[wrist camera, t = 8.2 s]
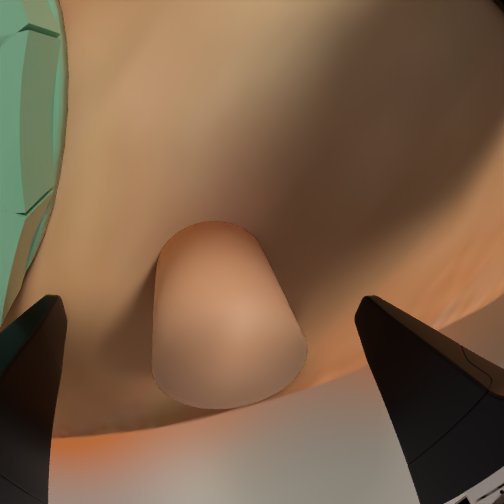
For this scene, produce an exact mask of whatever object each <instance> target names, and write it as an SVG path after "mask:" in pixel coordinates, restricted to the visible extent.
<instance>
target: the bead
mask: <svg viewBox="0 0 504 504" xmlns="http://www.w3.org/2000/svg"><path fill="white" fill-rule="evenodd" d="M307 353H308V349H307V343H306V339H305V337H304V335H303V333H302V331H301V329H300V327H299V325H298V322H297V320H296V318H295V316H294V314H293V312H292V310H291V308H290V306H289V304H288V301H287V299H286V297H285V295H284V293H283V291H282V289H281V287H280V285H279V283H278V281H277V279H276V277H275V274H274V272H273V270H272V268H271V266H270V264H269V262H268V260H267V258H266V256H265V254H264V252H263V250H262V248H261V246H260V244H259V243H258V241H257V240H256V239H255V238H254V237H253V236H252V235H251V234H250V233H249V232H247V231H246V230H244V229H242V228H241V227H239V226H236V225H233V224H230V223H225V222H203V223H199V224H195V225H192V226H189V227H187V228H185V229H183V230H181V231H180V232H178V233H177V234H175V235H174V236H173V237H172V238H171V239H170V240H169V241H168V242H167V243H166V244H165V246H164V247H163V249H162V251H161V252H160V255H159V257H158V261H157V267H156V279H155V293H154V309H153V330H152V375H153V378H154V380H155V383H156V384H157V386H158V387H159V388H160V389H161V390H162V391H163V392H164V393H165V394H166V395H167V396H169V397H170V398H172V399H174V400H176V401H178V402H180V403H183V404H185V405H189V406H192V407H197V408H204V409H230V408H237V407H242V406H246V405H250V404H253V403H256V402H259V401H261V400H264V399H266V398H268V397H270V396H272V395H274V394H276V393H277V392H279V391H281V390H282V389H283V388H285V387H286V386H287V385H288V384H290V383H291V382H292V381H293V380H294V379H295V378H296V377H297V375H298V374H299V373H300V371H301V370H302V368H303V366H304V364H305V361H306V358H307Z"/></svg>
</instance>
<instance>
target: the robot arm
mask: <svg viewBox="0 0 504 504" xmlns="http://www.w3.org/2000/svg"><path fill="white" fill-rule="evenodd" d="M494 1H495V2H496V3H497V4H498V5H499V6H500V7H501V8H502V9H503V10H504V0H494ZM354 320H355V325H356V328H357V331H358V334H359V337H360V340H361V343H362V346H363V349H364V353H365V356H366V359H367V362H368V364H369V367H370V369H371V371H372V374H373V376H374V379H375V381H376V383H377V386H378V388H379V391H380V393H381V395H382V398H383V401H384V403H385V406H386V408H387V411H388V413H389V416H390V419H391V421H392V424H393V426H394V429H395V432H396V434H397V437H398V440H399V442H400V445H401V448H402V451H403V454H404V456H405V459H406V462H407V464H408V468H409V471H410V474H411V477H412V480H413V483H414V486H415V489H416V492H417V495H418V499H419V502H420V504H444V503H446V502H448V501H450V500H452V499H453V498H455V497H457V496H459V495H460V494H462V493H465V496H464V497H463V498H462V499H460V500H459V501H458V502H456V503H455V504H504V369H503V368H501V367H499V366H497V365H495V364H494V363H492V362H490V361H488V360H486V359H484V358H482V357H481V356H479V355H477V354H475V353H474V352H472V351H470V350H468V349H467V348H465V347H463V346H461V345H459V344H458V343H456V342H455V341H453V340H452V339H450V338H448V337H446V336H445V335H443V334H441V333H440V332H438V331H436V330H435V329H433V328H431V327H430V326H428V325H426V324H424V323H423V322H421V321H419V320H418V319H416V318H414V317H412V316H411V315H409V314H407V313H406V312H404V311H402V310H400V309H399V308H397V307H395V306H393V305H392V304H390V303H388V302H386V301H385V300H383V299H381V298H379V297H378V296H375V295H371V296H364V297H363V298H362V300H361V303H360V305H359V307H358V309H357V312H356V314H355V319H354ZM66 330H67V317H66V314H65V310H64V306H63V303H62V299H61V297H60V296H59V295H45V296H44V297H43V298H41V299H40V300H39V301H38V302H36V303H35V304H34V305H33V306H31V307H30V308H29V309H28V310H27V311H25V312H24V313H23V314H22V315H21V316H19V317H18V318H17V319H16V320H15V321H13V322H12V323H11V324H10V325H9V326H7V327H6V328H5V329H4V330H3V331H2V332H1V333H0V504H48V478H49V461H50V460H49V459H50V448H51V438H52V429H53V421H54V414H55V408H56V401H57V395H58V390H59V384H60V379H61V373H62V364H63V354H64V346H65V338H66Z"/></svg>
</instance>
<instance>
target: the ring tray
mask: <svg viewBox="0 0 504 504" xmlns="http://www.w3.org/2000/svg"><path fill="white" fill-rule="evenodd" d="M68 80H69V72H68V55H67V39H66V33H65V26H64V19H63V12H62V9H61V6H60V2H59V0H0V327H1V325H2V323H3V321H4V319H5V317H6V315H7V313H8V311H9V309H10V307H11V306H12V304H13V302H14V300H15V298H16V296H17V295H18V293H19V291H20V289H21V286H22V282H23V278H24V275H25V273H26V271H27V269H28V268H29V266H30V264H31V263H32V261H33V259H34V258H35V256H36V253H37V251H38V249H39V246H40V244H41V242H42V239H43V237H44V235H45V232H46V229H47V225H48V222H49V219H50V216H51V213H52V210H53V206H54V201H55V196H56V192H57V188H58V183H59V179H60V173H61V166H62V159H63V153H64V147H65V135H66V123H67V113H68Z"/></svg>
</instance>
